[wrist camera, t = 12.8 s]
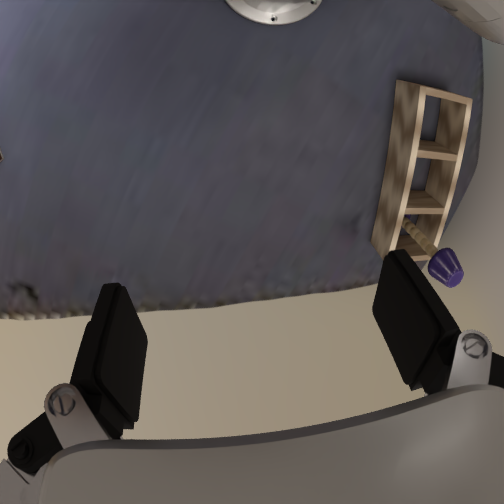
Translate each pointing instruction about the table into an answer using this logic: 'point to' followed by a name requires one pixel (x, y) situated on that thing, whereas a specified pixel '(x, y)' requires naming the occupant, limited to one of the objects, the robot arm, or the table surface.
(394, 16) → the table surface
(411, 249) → the rack
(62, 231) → the table surface
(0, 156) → the food container
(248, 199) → the table surface
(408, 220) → the toy lamp
